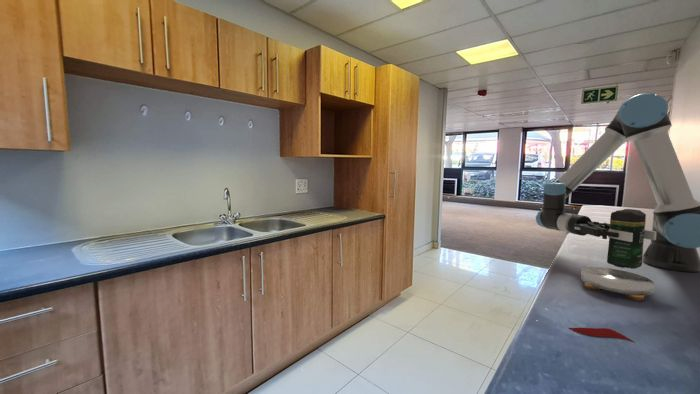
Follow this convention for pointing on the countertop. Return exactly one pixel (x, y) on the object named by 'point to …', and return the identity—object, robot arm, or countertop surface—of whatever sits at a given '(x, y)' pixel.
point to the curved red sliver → (600, 332)
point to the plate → (617, 282)
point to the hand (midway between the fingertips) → (643, 236)
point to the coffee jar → (625, 251)
